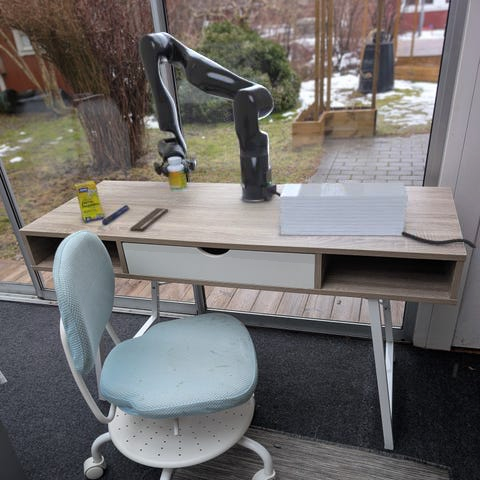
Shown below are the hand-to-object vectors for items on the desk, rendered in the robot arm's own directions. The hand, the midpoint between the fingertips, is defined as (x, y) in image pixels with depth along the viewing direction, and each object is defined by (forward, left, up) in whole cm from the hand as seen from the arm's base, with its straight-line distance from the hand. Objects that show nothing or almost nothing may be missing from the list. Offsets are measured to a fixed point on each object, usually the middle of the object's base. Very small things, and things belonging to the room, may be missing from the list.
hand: (176, 172), depth 145 cm
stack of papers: (-51, +6, -12) cm, 53 cm away
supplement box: (+26, +11, -12) cm, 31 cm away
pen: (+19, +9, -12) cm, 24 cm away
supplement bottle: (+1, -2, -6) cm, 7 cm away
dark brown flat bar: (+6, +10, -12) cm, 17 cm away
